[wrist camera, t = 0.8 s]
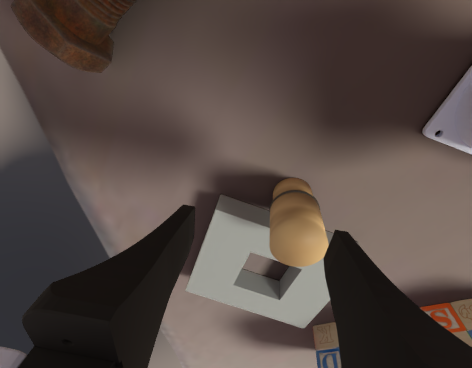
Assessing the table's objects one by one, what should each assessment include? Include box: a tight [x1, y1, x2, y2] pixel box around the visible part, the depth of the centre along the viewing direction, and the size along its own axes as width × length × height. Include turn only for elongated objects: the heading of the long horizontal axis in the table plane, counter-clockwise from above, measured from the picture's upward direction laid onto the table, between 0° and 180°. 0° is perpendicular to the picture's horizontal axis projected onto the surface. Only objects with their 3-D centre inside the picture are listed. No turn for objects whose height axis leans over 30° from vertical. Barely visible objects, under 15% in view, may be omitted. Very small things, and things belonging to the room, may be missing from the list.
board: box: [186, 194, 359, 329], centre depth 26 cm, size 14×12×2 cm
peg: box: [269, 178, 329, 267], centre depth 20 cm, size 4×4×6 cm
